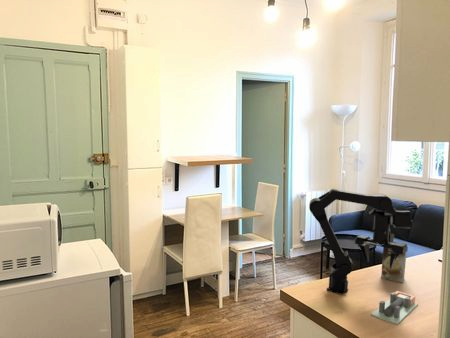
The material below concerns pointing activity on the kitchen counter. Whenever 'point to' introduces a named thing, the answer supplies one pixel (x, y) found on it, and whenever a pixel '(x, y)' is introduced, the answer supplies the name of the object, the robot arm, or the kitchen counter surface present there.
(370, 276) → the kitchen counter surface
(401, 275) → the coffee box
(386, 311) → the rod
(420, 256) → the kitchen counter surface
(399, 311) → the clip board
